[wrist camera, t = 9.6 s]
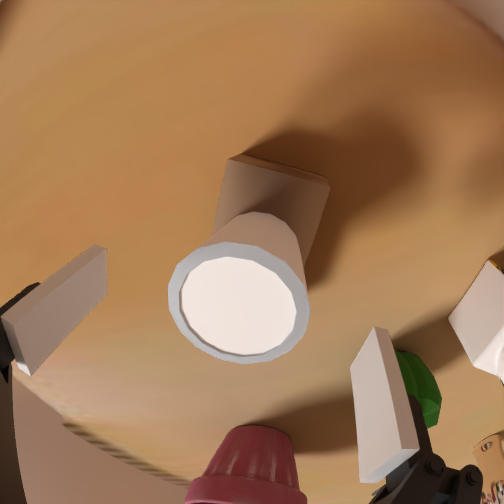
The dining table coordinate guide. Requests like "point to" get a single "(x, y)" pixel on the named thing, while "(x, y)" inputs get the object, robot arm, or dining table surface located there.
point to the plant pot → (249, 470)
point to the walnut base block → (273, 196)
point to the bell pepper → (420, 385)
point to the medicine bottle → (483, 320)
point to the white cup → (243, 291)
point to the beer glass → (491, 468)
